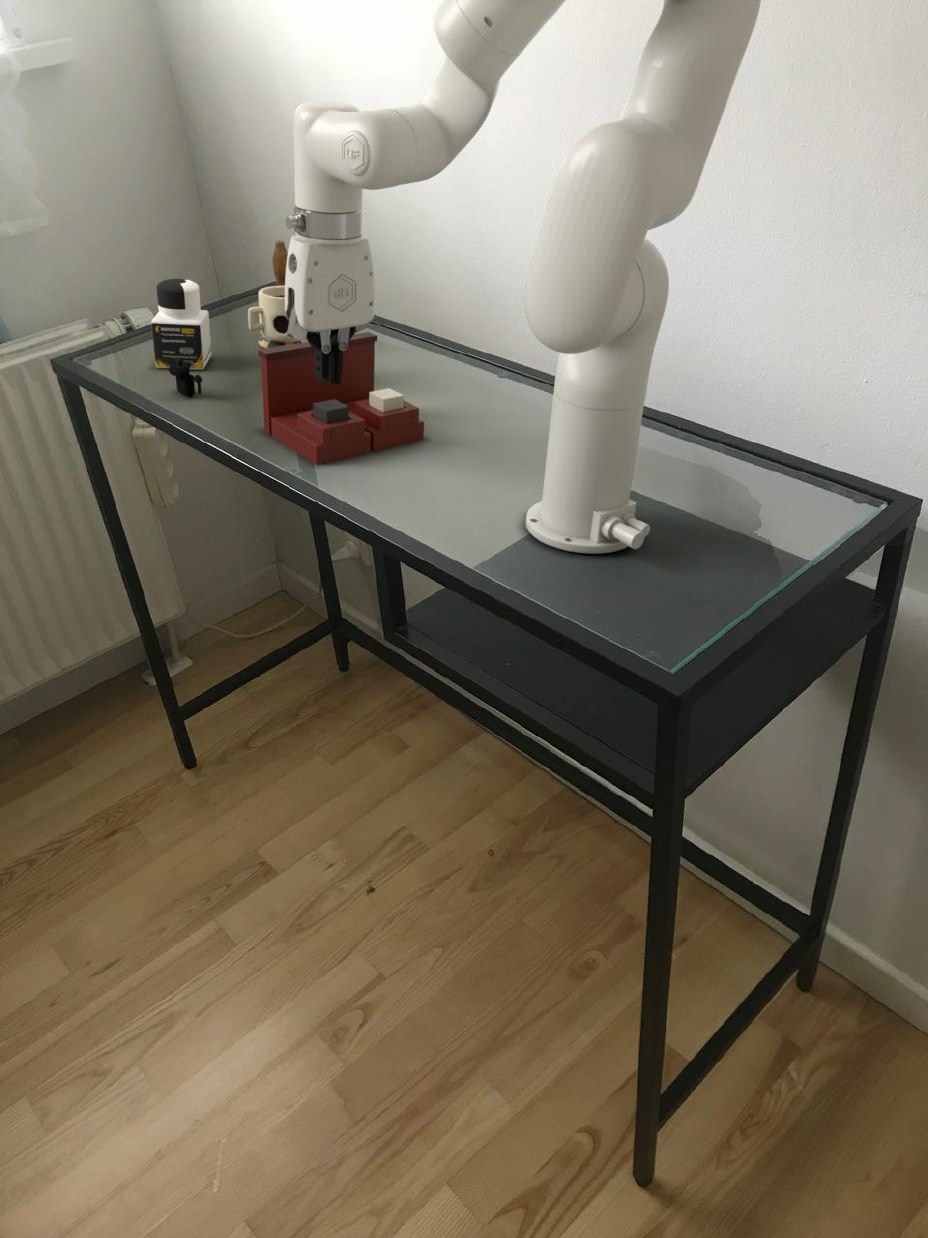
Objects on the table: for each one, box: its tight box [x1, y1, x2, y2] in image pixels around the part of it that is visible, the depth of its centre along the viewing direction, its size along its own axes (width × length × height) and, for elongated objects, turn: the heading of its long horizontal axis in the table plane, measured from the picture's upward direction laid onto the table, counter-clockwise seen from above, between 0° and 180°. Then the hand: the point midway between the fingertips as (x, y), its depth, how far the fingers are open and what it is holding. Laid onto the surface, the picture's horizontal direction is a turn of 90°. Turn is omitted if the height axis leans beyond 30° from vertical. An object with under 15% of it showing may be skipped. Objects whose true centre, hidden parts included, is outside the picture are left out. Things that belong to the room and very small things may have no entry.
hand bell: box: [258, 240, 288, 349], centre depth 164 cm, size 8×8×16 cm
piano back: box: [257, 331, 378, 435], centre depth 137 cm, size 2×17×11 cm, turn 129°
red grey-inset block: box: [271, 410, 372, 466], centre depth 132 cm, size 11×8×4 cm
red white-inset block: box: [343, 398, 425, 452], centre depth 137 cm, size 11×8×4 cm
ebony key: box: [313, 399, 349, 425], centre depth 129 cm, size 3×3×2 cm
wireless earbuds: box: [168, 358, 203, 398], centre depth 144 cm, size 7×2×5 cm, turn 49°
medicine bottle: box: [150, 278, 212, 371], centre depth 155 cm, size 7×7×12 cm
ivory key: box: [369, 387, 405, 412], centre depth 134 cm, size 3×3×2 cm
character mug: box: [247, 285, 302, 348], centre depth 150 cm, size 11×7×13 cm, turn 121°
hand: (329, 380), depth 127 cm, fingers closed
